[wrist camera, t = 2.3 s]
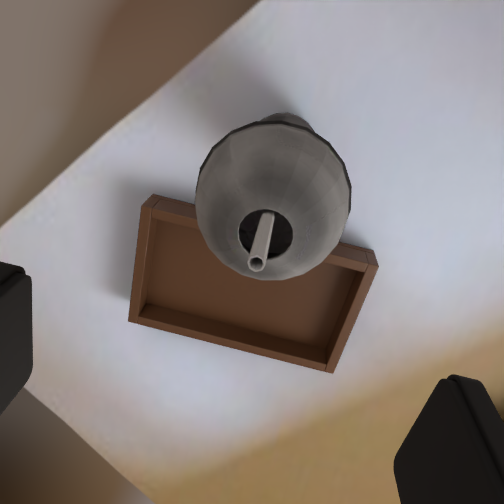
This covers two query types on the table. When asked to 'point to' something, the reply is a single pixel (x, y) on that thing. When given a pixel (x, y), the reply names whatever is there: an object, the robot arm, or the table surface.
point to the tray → (243, 293)
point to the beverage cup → (272, 198)
